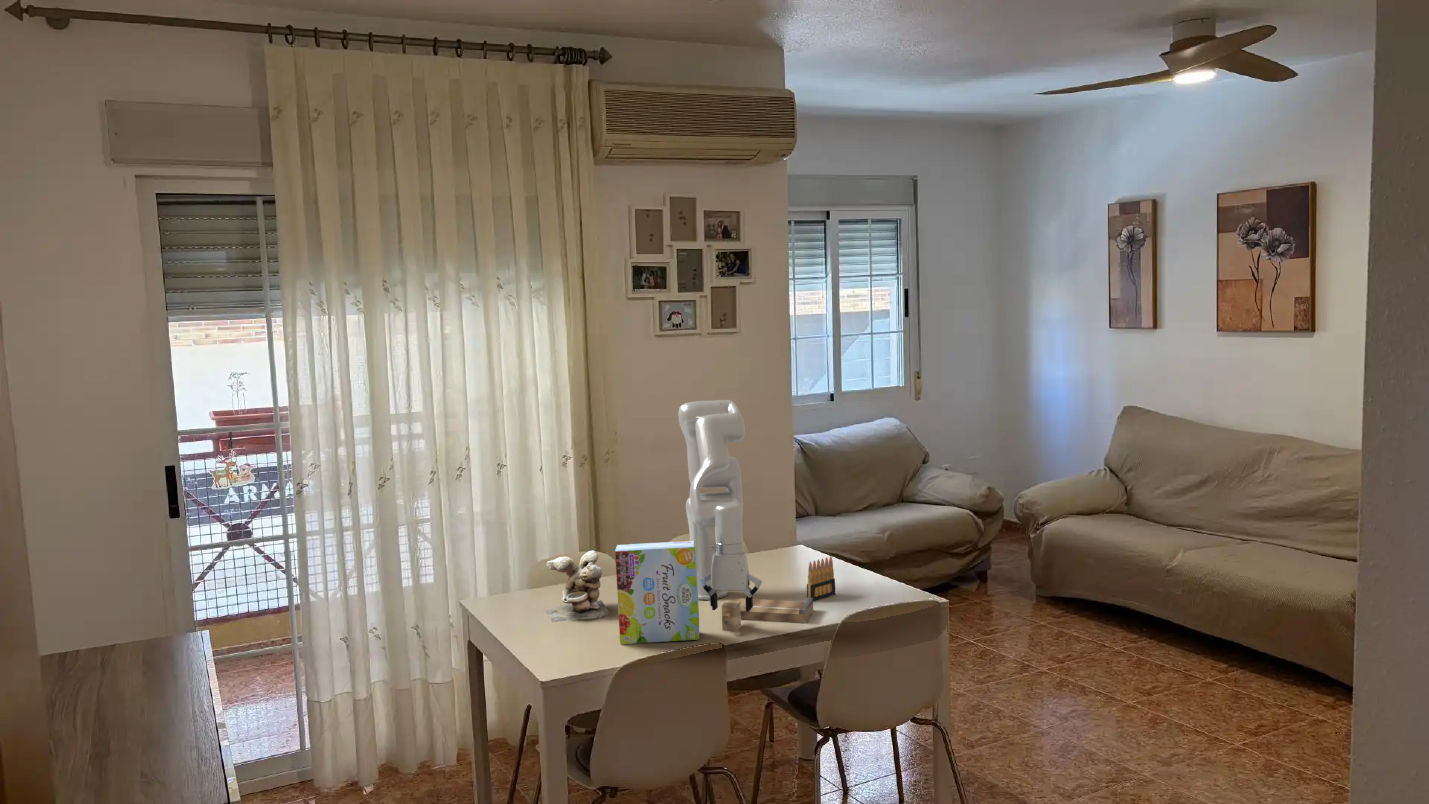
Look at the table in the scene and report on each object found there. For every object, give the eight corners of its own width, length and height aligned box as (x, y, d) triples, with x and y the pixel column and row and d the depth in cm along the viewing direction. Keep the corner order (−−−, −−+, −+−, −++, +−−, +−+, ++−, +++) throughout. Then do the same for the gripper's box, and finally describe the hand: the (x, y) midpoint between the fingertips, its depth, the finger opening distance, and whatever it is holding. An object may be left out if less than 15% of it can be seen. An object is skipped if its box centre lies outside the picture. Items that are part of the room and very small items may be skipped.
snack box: (699, 631, 294) (696, 539, 291) (700, 641, 285) (696, 547, 282) (620, 634, 293) (616, 542, 290) (618, 645, 284) (614, 550, 281)
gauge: (719, 633, 291) (718, 608, 290) (730, 621, 301) (729, 597, 301) (733, 634, 290) (732, 609, 289) (743, 622, 300) (743, 598, 300)
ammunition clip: (811, 602, 318) (810, 562, 316) (806, 600, 319) (805, 561, 318) (835, 594, 324) (835, 556, 323) (831, 593, 326) (830, 555, 325)
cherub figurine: (550, 623, 305) (547, 562, 303) (542, 606, 322) (539, 548, 320) (612, 616, 310) (609, 556, 308) (600, 600, 327) (598, 542, 325)
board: (729, 618, 304) (728, 606, 304) (739, 606, 315) (739, 594, 315) (805, 622, 298) (804, 610, 298) (813, 610, 309) (812, 598, 309)
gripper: (695, 550, 292) (697, 612, 293) (756, 552, 287) (759, 614, 288) (703, 544, 299) (705, 604, 300) (763, 546, 294) (765, 607, 295)
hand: (731, 609), depth 294 cm, fingers open, 9 cm apart
